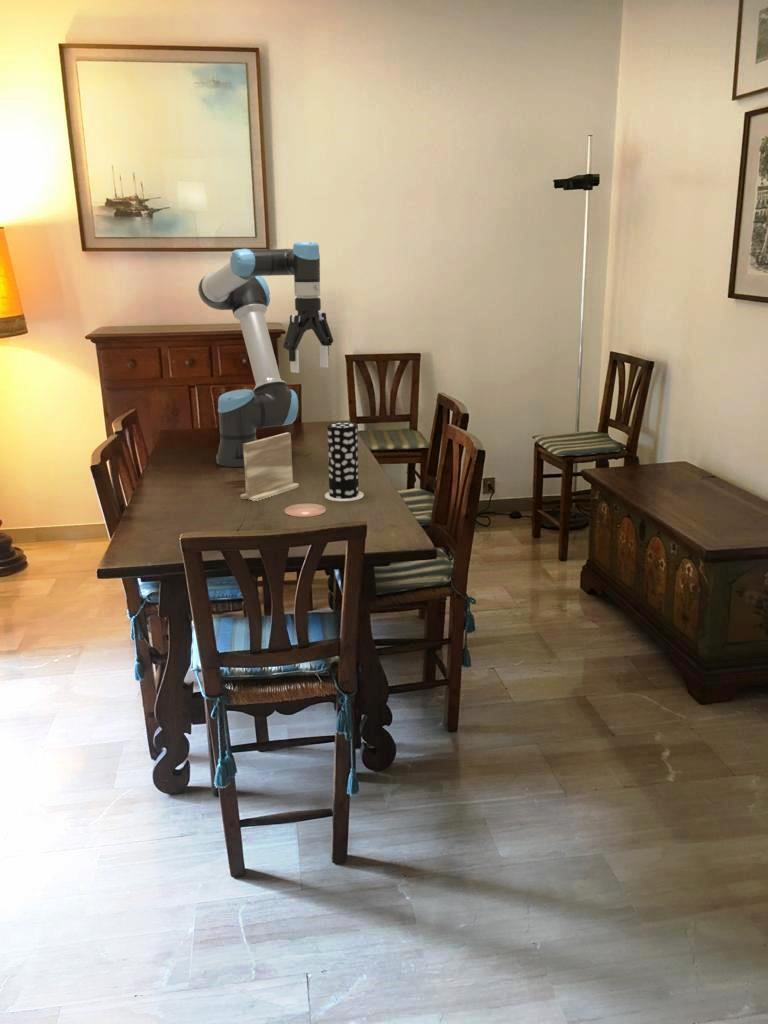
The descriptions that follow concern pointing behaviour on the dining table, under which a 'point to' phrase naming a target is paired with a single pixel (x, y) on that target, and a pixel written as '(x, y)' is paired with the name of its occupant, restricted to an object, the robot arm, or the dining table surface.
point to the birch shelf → (268, 467)
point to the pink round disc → (305, 510)
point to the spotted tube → (343, 460)
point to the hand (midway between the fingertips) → (309, 369)
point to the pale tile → (344, 499)
